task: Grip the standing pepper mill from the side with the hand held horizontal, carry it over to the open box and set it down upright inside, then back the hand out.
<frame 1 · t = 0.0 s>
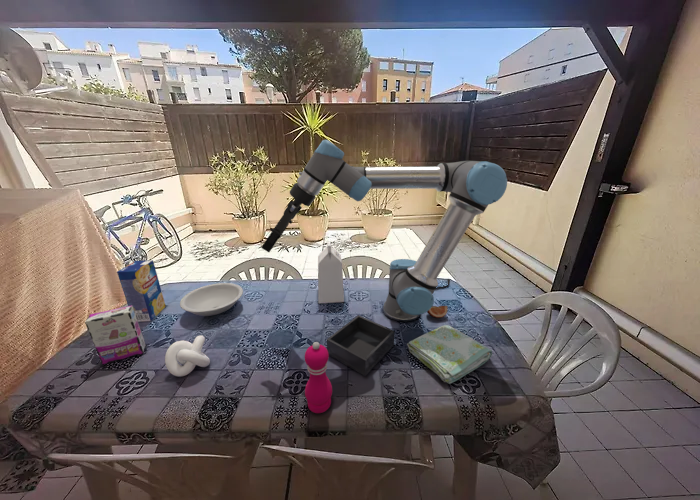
hand: (271, 242, 88), 36 cm above the table, tool tilted 35°, fingers open, 13 cm apart
milk: (330, 296, 127), on the table
open box: (361, 349, 93), on the table
candy bar box: (125, 355, 91), on the table
towel: (447, 356, 90), on the table
blue cracker box: (150, 314, 114), on the table
pepper mill: (319, 403, 73), on the table
soup bowl: (215, 309, 117), on the table
fruit slice: (436, 317, 111), on the table
white knot sculpture: (194, 365, 87), on the table
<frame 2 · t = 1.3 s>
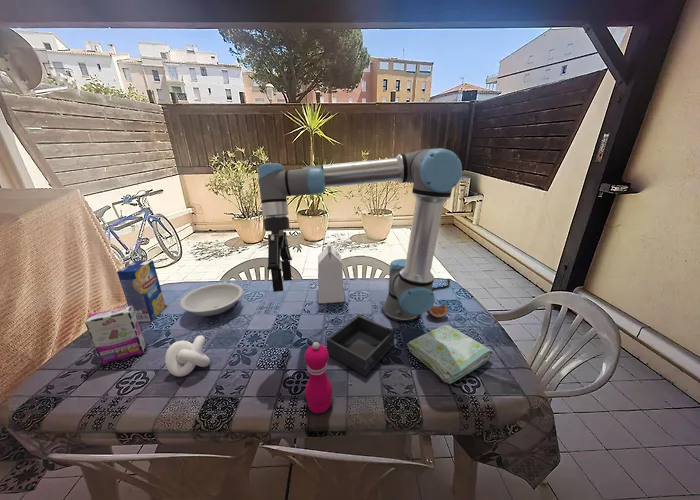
hand: (283, 285, 84), 25 cm above the table, tool pointing down, fingers open, 13 cm apart
nothing on the table moved.
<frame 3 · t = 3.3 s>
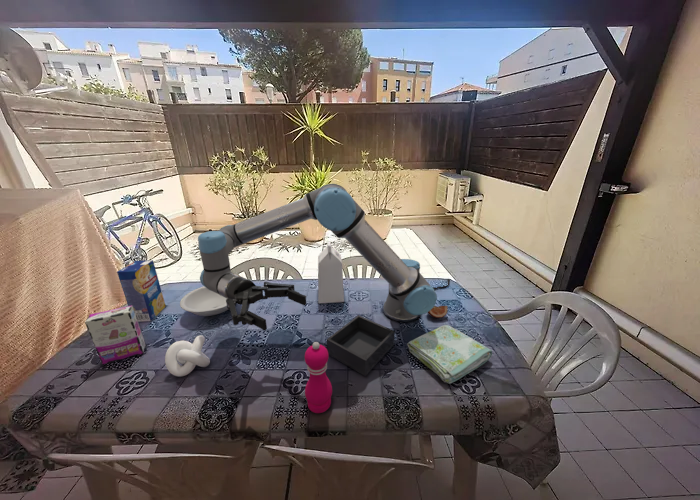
hand: (286, 312, 70), 25 cm above the table, tool horizontal, fingers open, 13 cm apart
nothing on the table moved.
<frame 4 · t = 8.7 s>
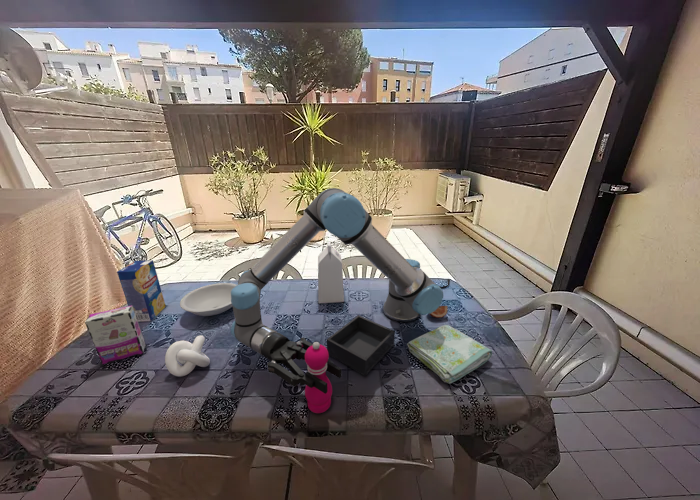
hand: (333, 380, 67), 11 cm above the table, tool horizontal, fingers closed on pepper mill, 5 cm apart
pepper mill: (319, 403, 73), on the table, touching gripper
everything else where it was.
when the fingers open (12 cm above the table, at t = 18.1 s): pepper mill stays where it is, resting on open box.
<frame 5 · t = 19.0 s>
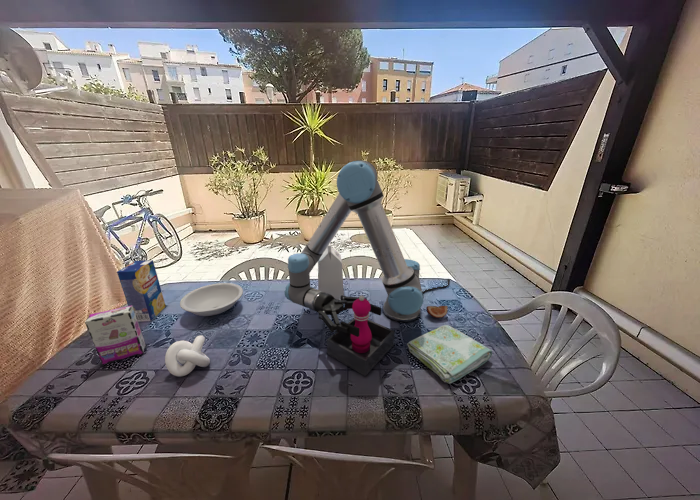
hand: (370, 321, 87), 13 cm above the table, tool horizontal, fingers open, 13 cm apart
pepper mill: (360, 347, 93), point 1 cm above the table, touching open box
everything else where it was.
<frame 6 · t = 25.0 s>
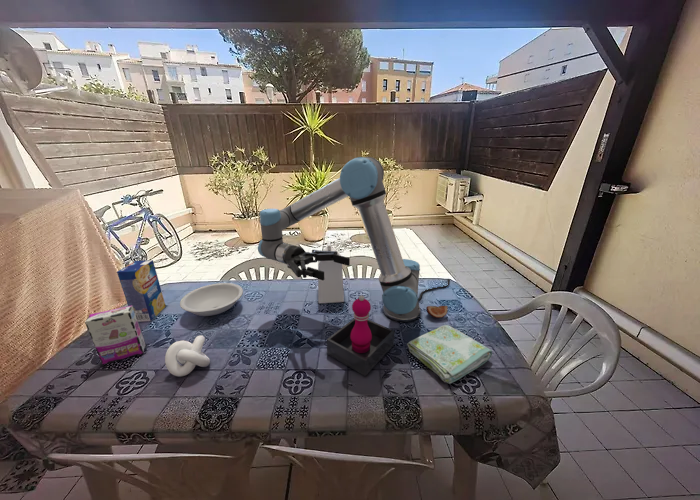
hand: (337, 268, 88), 28 cm above the table, tool horizontal, fingers open, 13 cm apart
nothing on the table moved.
at the end: pepper mill inside the target area in the open box (0.1 cm from its centre), point 0.8 cm above the open box's base; pepper mill tilted 0°; the gripper is holding nothing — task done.
